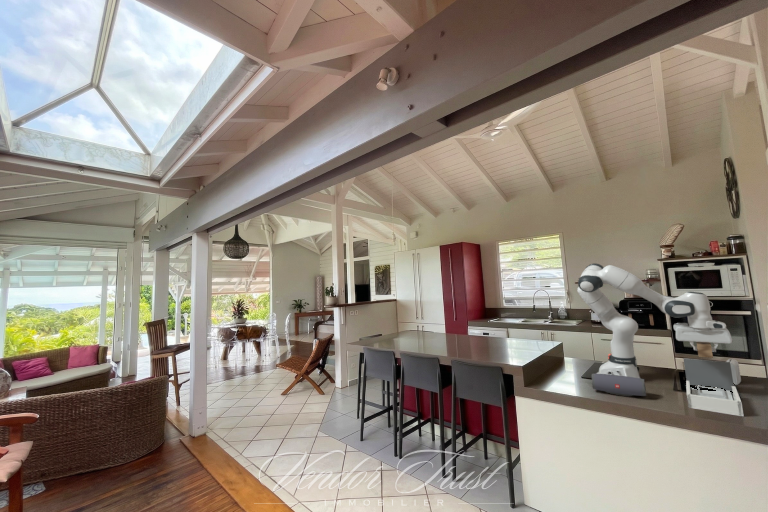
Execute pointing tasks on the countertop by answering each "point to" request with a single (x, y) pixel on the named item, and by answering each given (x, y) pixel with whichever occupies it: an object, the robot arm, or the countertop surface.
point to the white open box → (715, 403)
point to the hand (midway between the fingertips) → (704, 350)
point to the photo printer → (735, 371)
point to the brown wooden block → (704, 349)
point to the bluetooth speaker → (619, 384)
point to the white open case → (710, 377)
